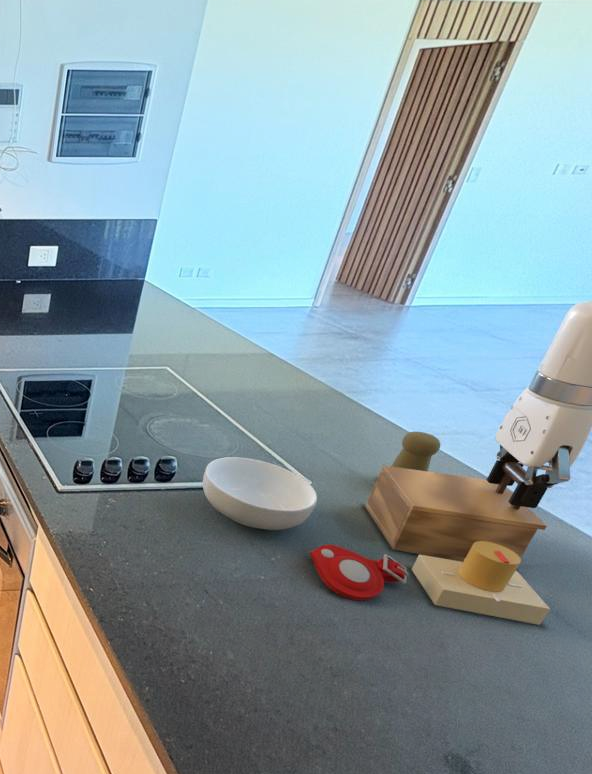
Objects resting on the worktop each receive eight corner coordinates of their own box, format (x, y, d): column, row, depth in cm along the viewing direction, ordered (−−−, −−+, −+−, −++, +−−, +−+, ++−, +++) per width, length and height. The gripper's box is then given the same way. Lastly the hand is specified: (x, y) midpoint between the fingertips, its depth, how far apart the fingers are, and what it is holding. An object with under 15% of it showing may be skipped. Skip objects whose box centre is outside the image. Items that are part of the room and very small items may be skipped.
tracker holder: (363, 605, 87) (300, 552, 93) (349, 620, 90) (289, 567, 96) (423, 569, 89) (358, 519, 96) (408, 584, 92) (346, 535, 99)
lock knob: (451, 565, 91) (466, 536, 89) (493, 572, 90) (509, 543, 88) (468, 587, 87) (485, 558, 85) (512, 595, 86) (530, 565, 83)
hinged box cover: (498, 485, 102) (516, 452, 99) (544, 530, 91) (565, 494, 88) (381, 469, 106) (394, 437, 104) (411, 509, 96) (428, 475, 93)
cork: (374, 476, 119) (396, 426, 114) (408, 478, 118) (432, 428, 113) (393, 494, 113) (417, 442, 108) (429, 496, 113) (455, 444, 108)
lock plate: (505, 583, 92) (515, 567, 91) (542, 628, 84) (553, 611, 83) (409, 567, 96) (417, 550, 94) (436, 608, 88) (445, 591, 86)
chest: (472, 523, 105) (492, 485, 102) (513, 570, 95) (537, 529, 91) (365, 506, 110) (380, 469, 106) (393, 549, 99) (411, 510, 96)
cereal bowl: (316, 555, 98) (330, 519, 95) (201, 533, 103) (211, 498, 100) (292, 497, 112) (304, 465, 109) (192, 481, 118) (200, 449, 114)
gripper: (502, 364, 96) (454, 463, 104) (573, 411, 82) (510, 521, 90) (563, 370, 94) (509, 470, 102) (646, 419, 80) (576, 531, 88)
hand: (510, 493), depth 96 cm, fingers closed on hinged box cover, 5 cm apart
